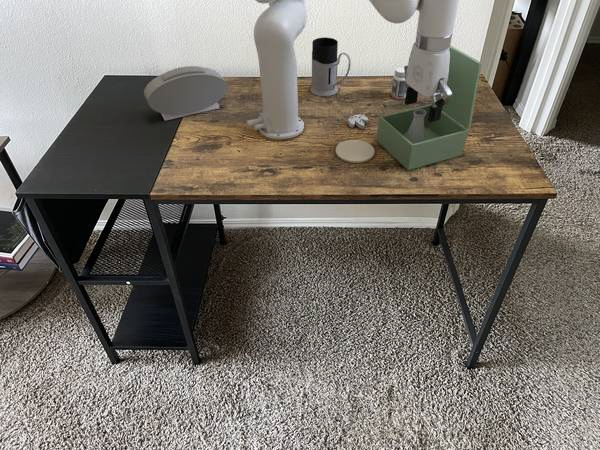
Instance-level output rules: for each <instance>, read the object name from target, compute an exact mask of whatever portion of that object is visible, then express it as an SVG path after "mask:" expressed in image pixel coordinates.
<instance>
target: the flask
mask: <svg viewBox="0 0 600 450" xmlns="http://www.w3.org/2000/svg"><path fill="white" fill-rule="evenodd" d="M413 114H414V118H413V121H412V124H411V126H410V128H409V129H408V131H407V133H406V134H405V136H404V137H406V138H407V139H408V140H409V141H410V142H411V143H412V144H415V143H419V142H422V141H426V140H427V139H426V134H425V128H424V117H425V116H426V111H425V110H423V109H415V110H414V112H413Z"/></svg>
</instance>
